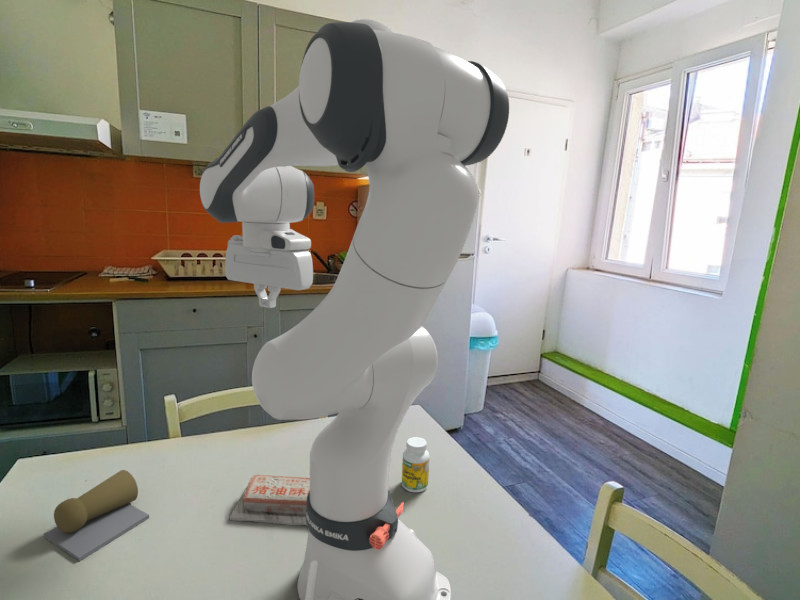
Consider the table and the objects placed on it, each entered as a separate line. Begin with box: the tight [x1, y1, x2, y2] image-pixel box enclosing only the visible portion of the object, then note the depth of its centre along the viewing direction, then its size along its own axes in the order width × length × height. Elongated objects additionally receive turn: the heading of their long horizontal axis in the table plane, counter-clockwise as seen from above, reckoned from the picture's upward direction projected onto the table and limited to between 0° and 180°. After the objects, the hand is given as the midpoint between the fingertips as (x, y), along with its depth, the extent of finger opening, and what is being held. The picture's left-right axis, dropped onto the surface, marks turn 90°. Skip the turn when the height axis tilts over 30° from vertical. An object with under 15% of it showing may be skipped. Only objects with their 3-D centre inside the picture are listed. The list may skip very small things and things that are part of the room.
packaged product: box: [229, 474, 310, 526], centre depth 80 cm, size 18×5×10 cm
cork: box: [53, 469, 139, 533], centre depth 74 cm, size 6×6×11 cm
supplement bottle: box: [401, 436, 431, 493], centre depth 87 cm, size 5×5×10 cm
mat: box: [43, 503, 150, 562], centre depth 72 cm, size 10×11×1 cm
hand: (267, 306), depth 87 cm, fingers closed
